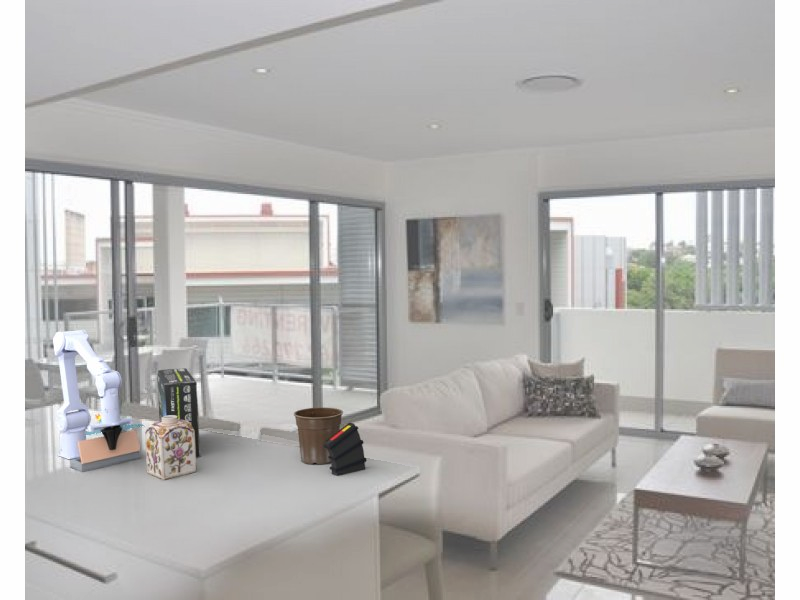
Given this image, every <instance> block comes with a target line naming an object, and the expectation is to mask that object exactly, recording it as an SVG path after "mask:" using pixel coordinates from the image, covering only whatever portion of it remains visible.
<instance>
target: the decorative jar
mask: <svg viewBox="0 0 800 600" xmlns="http://www.w3.org/2000/svg"><path fill="white" fill-rule="evenodd" d="M144 433H145V434H144V438H145V439H144V440H145V441H144V443H145V461H146V462H145V463H146V464H145V465H146V472H147V474H148V473H149V475H150V476H151V475H152V476H154V477H156V478H158V479H160V478H161V479H160V480H163V481H164V480H168V479H172V478H176V477H181V476H186V475H189V474H193V473H196V472H197V457H196V447H195V431H194V429H193V427H192V425H191V424H190V422H189V421H186V420H178V419H177V416H175V415H168V416H164V417H162V421H160V420H159V421H158V422H157V421H156V422H153V423H151V424H150V425H149V426H148V427H147V429H146V430H145V431H144Z"/></svg>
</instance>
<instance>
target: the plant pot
mask: <svg viewBox="0 0 800 600" xmlns="http://www.w3.org/2000/svg"><path fill="white" fill-rule="evenodd" d="M343 414H344V411H343V410H342V409H340V408H337V407H321V406H320V407H308V408H307V407H306V408H301V409H298V410H296V411H294V412H293V415H294V418H295V424H296V425H295V426H296V427H297V434H298V443H299V453H300V461H301V462H302V463H304V464H308V465H314V464H317V465H328V464H331V459H329V458H328V456H330V455H329V452H328V450H327V448H324V445H325V444H324V441H325V440H327V439H328V438H329V437H331V436H332V435H333V434H335V433H336V432H337V431H339V430H340V429H341V424H342V416H343Z"/></svg>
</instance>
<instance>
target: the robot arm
mask: <svg viewBox="0 0 800 600" xmlns="http://www.w3.org/2000/svg"><path fill="white" fill-rule="evenodd" d="M52 342H53V350H54V356H56V357H57V359H58V365H59V366H58V367H59V373H60V382H61V390H62V397H63V404H62V406H60V407H59V409H57V410H56V422H55V423H56V426H57V429H58V430H59V431H60V432H61V433H60V434H59V453H57V454H56V455H57V456H59V457H61V458H64V459H67V460H73V459H77V458H80V452H79V447H78V442H79V441H84V440H87V436H86V431H88V432H94V431H97V430H101V432H102V436H104V437H105V439H106V441H107V444H108V447H109V450H115V449H116V445H117V441H118V437H119V435H120V433H122V431H123V430H122V427H120V426H122V425H128V424H130V425H131V424H133V425H134V418H133V417H126V418H121V415H120V414H121V413H120V398H119V388H120V387H122V380H123V379H122V377H121V373H120V372H118V371H117V370H115V369H111V367H110V366H109V364H108V363H107V362H106V361H105V360H104V359H103V357H101V356H97V354H96V352H95V350H93V348H92V346H91V345H90V336H89V334H88V332H87V331H86V330H85V329H80V330H71V331H70V330H69V331H57V332H56V333H55V335H54V336H53V339H52ZM78 354H79V356H80V357H81V358H82V359H83V360H84V361H85V362H86V363H87V364H86V369H87V370H88V371H89V373H90V375H91V376H92V377H93V378H94V380H95V383H94V384H95V387H96V389H97V395H98V396H99V402H100V415H101V423H98V422H97V423H94V424H91V421H92V417H91V416H92V415H91V414H90V411H89V407H88V405H87V404H85V403H83V402H81V397H80V391H79V390H80V389H79V382H78V375H77V368H76V359H75V358H76V357H77V355H78ZM107 426H108V427H107Z"/></svg>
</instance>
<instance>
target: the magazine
mask: <svg viewBox="0 0 800 600" xmlns="http://www.w3.org/2000/svg"><path fill="white" fill-rule="evenodd" d="M324 444H325V445H324V448H327V450H328V452H329V455H330V456H328V458H329V459H331V463H330V465H331V466H329V470H331V475H333V476H342V475H346V474H350V473H355V472H359V471H364V470H366V463H367V458H366V457H365V451H364V446H363V444H364V440H363V439H361V436H360V433H359V427H358V426H356V424H355V423H353V422H348V423H346V424H345V425H344V426H342V428H341V427H340V430H339V431H337V432H336V433H335V434H333V435H332V436H331V437H329V438H328V439H327V440H325V441H324Z"/></svg>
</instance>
